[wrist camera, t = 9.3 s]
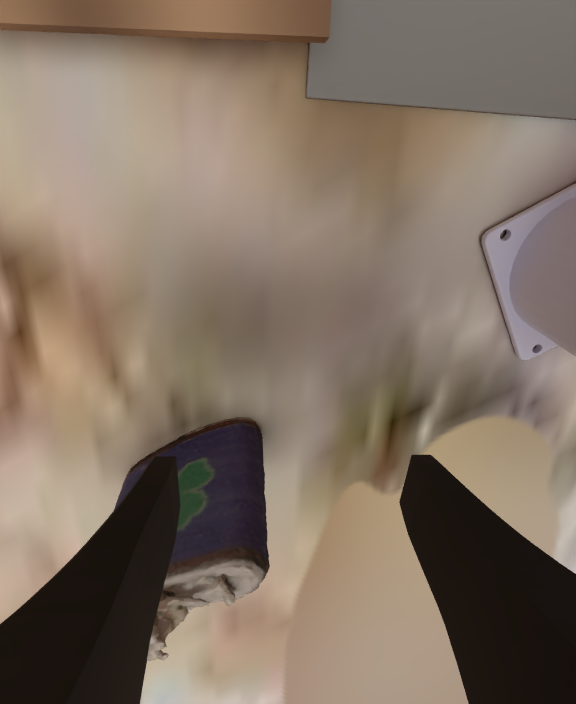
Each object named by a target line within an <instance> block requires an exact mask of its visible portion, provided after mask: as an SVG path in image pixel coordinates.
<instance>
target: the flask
mask: <svg viewBox="0 0 576 704" xmlns="http://www.w3.org/2000/svg"><path fill="white" fill-rule="evenodd" d="M262 438H263V437H262V433H261V430H260V429H259V427H258V425H257V424H256V422H255V421H253V420H251V419H250V418H239V417H238V418H236V419H228V420H224V421H221V422H219V423H216V424H211V425H208V426H205V428H201V429H197V430H194V431H191V432H190V433H189V434H187V435H184V436H182V437H180V438H179V439H178V440H176V441H175V442H172V443H170V444H168V445H166V446H165V447H163V448H161V449H160V450H157V451H156V452H154V453H152V454H150V455H149V456H147V457H146V458H145V459H143V460H140V461H139V462H138V463H137V464H136V465H135V466H134V467H133V468H131V470H130V472H129V473H128V475H127V477H126V479H125V481H124V483H123V486H122V490H121V492H120V495H119V497H118V500H117V503H116V506H115V509H116V508H117V506H118V505H119V504H120V502H121V501H122V500H123V499H124V497H125V496H126V495H127V494H128V492H129V491H130V489H131V488H132V487H133V485H134V484H135V483H136V481H137V480H138V479H139V477H140V476H141V474H142V473H143V471H144V470H145V468H146V467H147V465H148V464H149V462H150V461H151V459H153V458H154V457H155V456H176V460H177V472H178V483H179V495H180V513H179V520H178V527H177V534H176V540H175V544H174V548H173V552H172V556H171V560H170V564H169V568H168V571H167V575H166V579H165V583H164V587H163V591H162V594H161V598H160V602H159V606H158V610H157V614H156V617H155V621H154V626H153V630H152V635H151V640H150V645H149V651H148V657H147V660H148V661H150V660H155V659H161V660H165V659H166V658H167V657H168V654H167V653H163V652H162V651H161V649H163V648H164V647H166V643H165V638H166V637H167V635H168V634H169V633H170V632H172V631H173V630H174V629H175V628H176V627H177V626H178V625H179V624H180V622H182V621H184V619H185V617H186V615H187V614H188V610H191V609H193V608H195V607H203V606H207V605H209V603H213V602H220V601H224V602H225V603H226V604H227V605H228V606H230V605H232V604H233V603H234V602H235V599H236V600H237V599H239V598H242V597H243V596H244V595H245V594H248V593H251V592H253V591H254V590H256V589H257V588H258V587H259V584H260V583H261V582H262V581H263V580H264V578H265V576H266V573H267V572H268V569H269V567H270V566H269V560H268V557H269V555H268V550H267V523H266V501H265V495H264V489H265V487H264V484H265V481H264V477H265V473H264V467H263V441H262ZM115 509H114V510H115Z"/></svg>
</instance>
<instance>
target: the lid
mask: <svg viewBox="0 0 576 704" xmlns="http://www.w3.org/2000/svg"><path fill="white" fill-rule="evenodd" d="M330 17H331V0H0V30H18V31H42V32H66V33H90V34H114V35H138V36H162V37H186V38H210V39H234V40H257V41H281V42H305V43H326V41H327V40H328V38H329V36H330Z"/></svg>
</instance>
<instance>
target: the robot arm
mask: <svg viewBox="0 0 576 704" xmlns="http://www.w3.org/2000/svg"><path fill="white" fill-rule="evenodd" d="M504 230H506V235H505V237H503V238H502V239H500V234H501V232H502V231H504ZM481 243H482V247H483V250H484V254H485V257H486V260H487V263H488V267H489V270H490V273H491V276H492V279H493V283H494V286H495V289H496V292H497V295H498V299H499V302H500V305H501V308H502V312H503V315H504V318H505V321H506V324H507V328H508V331H509V334H510V337H511V340H512V344H513V347H514V350H515V353H516V355H517V357H518V358H520V359H521V360H525V361H526V360H530V359H532V358H534V357H536V356H538V355H540V354H543V353H545V352H547V351H549V350H551V349H553V348H555V347H557V346H561V347H562V348H564V349H565V350H567V351H568V352H570V353H571V354H573V355H574V356H576V183H575V184H573V185H571V186H569V187H567V188H566V189H564V190H562V191H560V192H558V193H556V194H554V195H553V196H551V197H549V198H547V199H545V200H543V201H541V202H539V203H538V204H536V205H534V206H532V207H530V208H528V209H526V210H525V211H523V212H521V213H519V214H517V215H515V216H513V217H511V218H510V219H508V220H506V221H504V222H502V223H500V224H498V225H497V226H495V227H493V228H491V229H489V230H488V231H486V232H485V233H484V235H483V236H482V240H481ZM536 345H537V347H536V348H535V349H533V347H534V346H536ZM532 349H533V350H532ZM400 506H401V510H402V514H403V518H404V521H405V525H406V528H407V532H408V535H409V537H410V540H411V542H412V545H413V547H414V550H415V552H416V555H417V557H418V560H419V562H420V564H421V567H422V569H423V572H424V574H425V576H426V579H427V581H428V584H429V586H430V588H431V591H432V593H433V595H434V598H435V600H436V602H437V605H438V607H439V610H440V613H441V615H442V618H443V621H444V624H445V626H446V630H447V633H448V636H449V639H450V642H451V646H452V649H453V652H454V655H455V658H456V661H457V665H458V668H459V672H460V675H461V678H462V682H463V685H464V689H465V692H466V696H467V699H468V703H469V704H576V574H575V573H573V572H572V571H570V570H569V569H567V568H566V567H565V566H563V565H562V564H560V563H559V562H557V561H556V560H554V559H553V558H552V557H550V556H549V555H548V554H546V553H545V552H543V551H542V550H541V549H539V548H538V547H537V546H535V545H534V544H532V543H531V542H530V541H529V540H527V539H526V538H525V537H523V536H522V535H521V534H519V533H518V532H517V531H516V530H514V529H513V528H512V527H511V526H509V525H508V524H507V523H506V522H505V521H504V520H502V519H501V518H500V517H499V516H498V515H496V514H495V513H494V512H493V511H492V510H491V509H489V508H488V507H487V506H486V505H485V504H484V503H482V502H481V501H480V500H479V499H478V498H477V497H476V496H475V495H474V494H473V493H471V492H470V491H469V490H468V489H467V488H466V487H465V486H464V485H463V484H462V483H461V482H460V481H459V480H457V479H456V478H455V477H454V476H453V475H452V474H451V473H450V472H449V471H448V470H447V469H446V468H445V467H443V466H442V465H441V464H440V463H439V462H438V461H437V460H436V459H435V458H434V457H433V456H431V455H412V456H411V460H410V464H409V468H408V471H407V475H406V479H405V483H404V487H403V490H402V494H401V498H400ZM179 513H180V495H179V483H178V472H177V460H176V456H155V457H154V458H153V459H151V461H150V462H149V464H148V465H147V467H146V468H145V470H144V471H143V473H142V474H141V476H140V477H139V479H138V480H137V481H136V483H135V484H134V485H133V487H132V488H131V489H130V491H129V492H128V494H127V495H126V496H125V497H124V499H123V500H122V501H121V502H120V504H119V505H118V506H117V508H116V509H115V510H114V511H113V513H112V514H111V515H110V516H109V518H108V519H107V520H106V521H105V522H104V523H103V525H102V526H101V527H100V528H99V529H98V530H97V531H96V533H95V534H94V535H93V536H92V537H91V538H90V540H89V541H88V542H87V543H86V544H85V545H84V546H83V547H82V548H81V549H80V550H79V552H78V553H77V554H76V555H75V556H74V557H73V558H72V559H71V560H70V561H69V562H68V563H67V564H66V565H65V566H64V567H63V568H62V569H61V570H60V571H59V572H58V573H57V574H56V575H55V576H54V577H53V578H52V579H51V580H50V581H49V582H47V583H46V584H45V585H44V586H43V587H42V588H41V589H40V590H39V591H38V592H37V593H36V594H35V595H33V596H32V597H31V598H30V599H29V600H28V601H27V602H26V603H25V604H24V605H22V606H21V607H20V608H19V609H18V610H17V611H16V612H14V613H13V614H12V615H11V616H10V617H8V618H7V619H6V620H5V621H4V622H2V623H1V624H0V704H140V699H141V693H142V686H143V680H144V674H145V669H146V663H147V657H148V651H149V645H150V640H151V635H152V630H153V626H154V621H155V617H156V614H157V610H158V606H159V602H160V598H161V594H162V591H163V587H164V583H165V579H166V575H167V571H168V568H169V564H170V560H171V556H172V552H173V548H174V544H175V540H176V534H177V527H178V520H179Z"/></svg>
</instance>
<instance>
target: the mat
mask: <svg viewBox="0 0 576 704" xmlns="http://www.w3.org/2000/svg"><path fill="white" fill-rule="evenodd" d="M305 98H309V99H322V100H334V101H347V102H359V103H372V104H384V105H397V106H409V107H422V108H434V109H447V110H459V111H472V112H484V113H497V114H509V115H522V116H534V117H547V118H559V119H572V120H576V0H331V17H330V36H329V38H328V40H327V41H326V43H309V52H308V67H307V82H306V96H305Z"/></svg>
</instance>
